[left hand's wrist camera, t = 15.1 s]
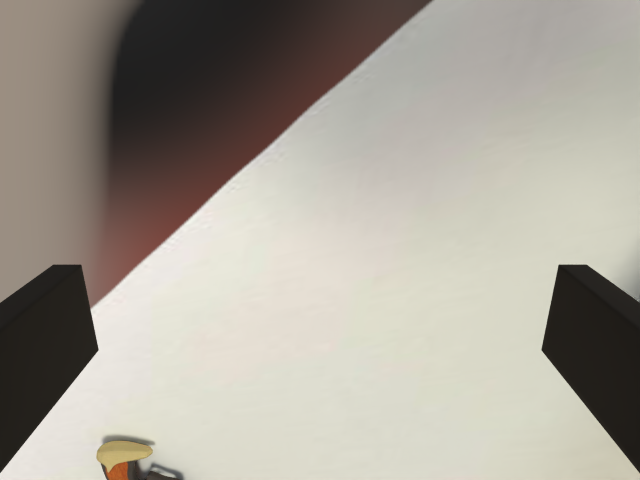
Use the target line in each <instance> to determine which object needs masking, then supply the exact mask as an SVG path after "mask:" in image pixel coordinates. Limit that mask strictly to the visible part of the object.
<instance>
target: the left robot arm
mask: <svg viewBox="0 0 640 480" xmlns="http://www.w3.org/2000/svg"><path fill="white" fill-rule="evenodd" d="M97 351H98V345H97V340H96V335H95V330H94V325H93V320H92V315H91V310H90V305H89V301H88V296H87V291H86V286H85V281H84V276H83V271H82V266H81V265H52V266H51V267H50V268H48V269H47V270H45V271H44V272H43V273H41V274H40V275H38V276H37V277H36V278H34V279H33V280H31V281H30V282H29V283H27V284H26V285H24V286H23V287H22V288H20V289H19V290H18V291H16V292H15V293H13V294H12V295H11V296H9V297H8V298H6V299H5V300H4V301H2V302H1V303H0V473H1V471H2V470H3V469H4V468H5V466H6V465H7V464H8V463H9V461H10V460H11V459H12V458H13V456H14V455H15V454H16V453H17V451H18V450H19V449H20V448H21V446H22V445H23V444H24V443H25V441H26V440H27V439H28V438H29V436H30V435H31V434H32V433H33V431H34V430H35V429H36V428H37V426H38V425H39V424H40V423H41V421H42V420H43V419H44V418H45V416H46V415H47V414H48V413H49V411H50V410H51V409H52V408H53V406H54V405H55V404H56V403H57V401H58V400H59V399H60V398H61V396H62V395H63V394H64V393H65V391H66V390H67V389H68V388H69V386H70V385H71V384H72V383H73V381H74V380H75V379H76V378H77V376H78V375H79V374H80V373H81V371H82V370H83V369H84V368H85V366H86V365H87V364H88V363H89V361H90V360H91V359H92V358H93V356H94V355H95V354H96V353H97ZM542 351H543V353H544V354H545V355H546V356H547V358H548V359H549V360H550V361H551V363H552V364H553V365H554V366H555V368H556V369H557V370H558V371H559V373H560V374H561V375H562V376H563V378H564V379H565V380H566V381H567V383H568V384H569V385H570V386H571V388H572V389H573V390H574V391H575V393H576V394H577V395H578V396H579V398H580V399H581V400H582V401H583V403H584V404H585V405H586V406H587V408H588V409H589V410H590V411H591V413H592V414H593V415H594V416H595V418H596V419H597V420H598V421H599V423H600V424H601V425H602V426H603V428H604V429H605V430H606V431H607V433H608V434H609V435H610V436H611V438H612V439H613V440H614V441H615V443H616V444H617V445H618V446H619V448H620V449H621V450H622V451H623V453H624V454H625V455H626V456H627V458H628V459H629V460H630V461H631V463H632V464H633V465H634V466H635V468H636V469H637V470H638V471H639V473H640V303H639V302H638V301H636V300H635V299H634V298H632V297H631V296H629V295H628V294H627V293H625V292H624V291H623V290H621V289H620V288H618V287H617V286H616V285H614V284H613V283H611V282H610V281H609V280H607V279H606V278H604V277H603V276H602V275H600V274H599V273H597V272H596V271H595V270H593V269H592V268H590V267H589V266H588V265H559V266H558V271H557V276H556V281H555V286H554V291H553V296H552V301H551V305H550V310H549V315H548V320H547V325H546V330H545V335H544V340H543V345H542Z"/></svg>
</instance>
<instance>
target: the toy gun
mask: <svg viewBox="0 0 640 480" xmlns="http://www.w3.org/2000/svg"><path fill="white" fill-rule="evenodd" d="M152 452H153V451H152V449H151V447H149V446H146V445H142V444H138V443H134V442H129V441H111V442H108V443H105V444H103V445H102V446H101V447H100V448H99V449H98V451H97V460H98V461H99V462H100V463H101V465H102V469H103V471H104V474H105V476H106V478H107V480H140V479H139V478H138V475H137V473H136V470H135V462H136V461H137V460H138V459H143V458H146V457H148V456H149V455H151V454H152ZM145 480H179V479H178V478H172V477H167V476H164V475H161V474H158V473H156V472H154V471H150V472H149V474H148V476H147V478H146V479H145Z"/></svg>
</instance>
